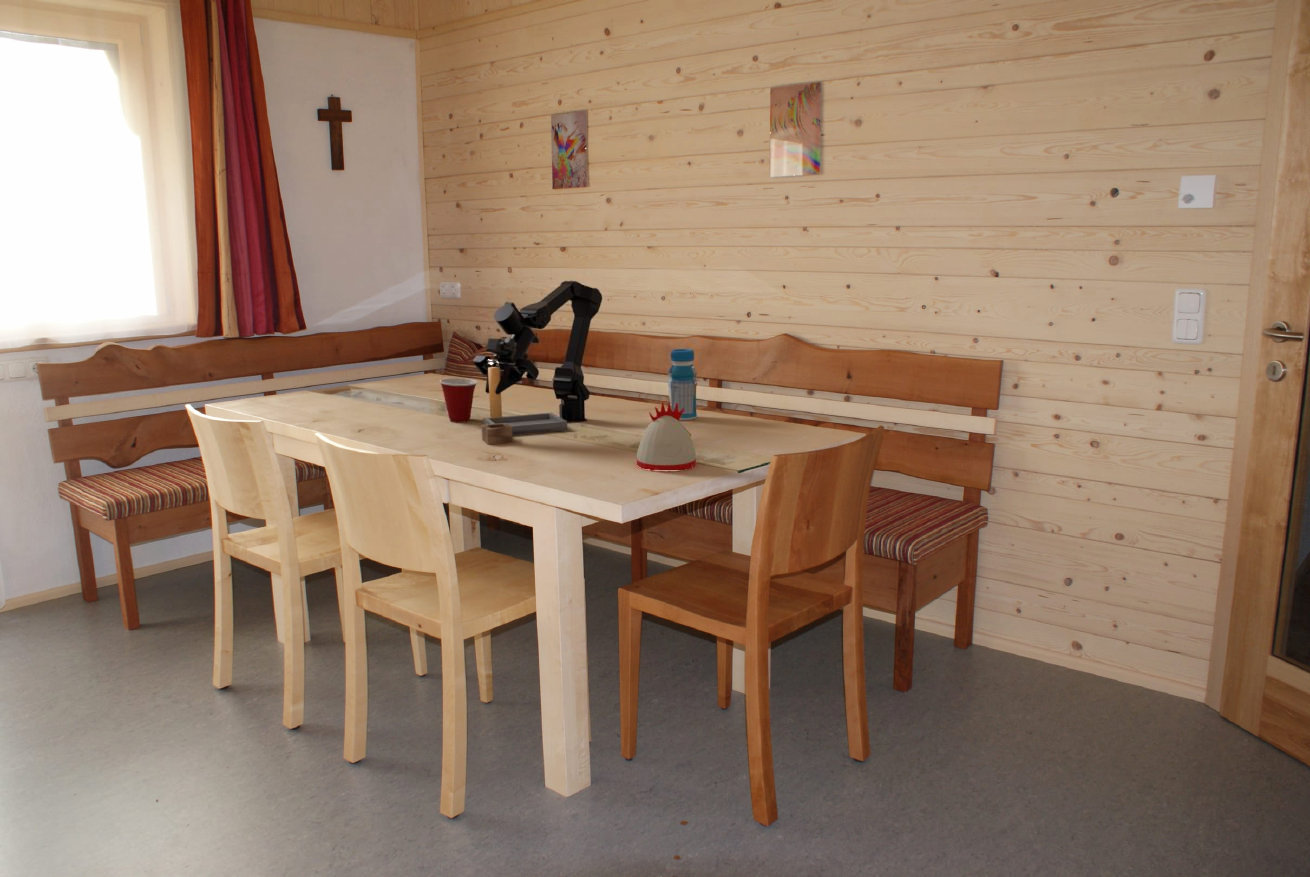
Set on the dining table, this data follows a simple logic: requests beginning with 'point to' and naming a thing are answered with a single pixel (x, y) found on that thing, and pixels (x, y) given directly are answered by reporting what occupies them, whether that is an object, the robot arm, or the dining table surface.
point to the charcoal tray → (531, 423)
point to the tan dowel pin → (494, 398)
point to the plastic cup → (458, 397)
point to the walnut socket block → (497, 433)
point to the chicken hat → (666, 443)
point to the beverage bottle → (683, 383)
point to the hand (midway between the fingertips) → (491, 392)
